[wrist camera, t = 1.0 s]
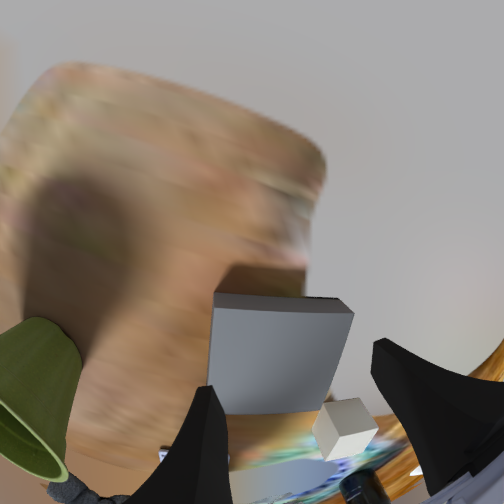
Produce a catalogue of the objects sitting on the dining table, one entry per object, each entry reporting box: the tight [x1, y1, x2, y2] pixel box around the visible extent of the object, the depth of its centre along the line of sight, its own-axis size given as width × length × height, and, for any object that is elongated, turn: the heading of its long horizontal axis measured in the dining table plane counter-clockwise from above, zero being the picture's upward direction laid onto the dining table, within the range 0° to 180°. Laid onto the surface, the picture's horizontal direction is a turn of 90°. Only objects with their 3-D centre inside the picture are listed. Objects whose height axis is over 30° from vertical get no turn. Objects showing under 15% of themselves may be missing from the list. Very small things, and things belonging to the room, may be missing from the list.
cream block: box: [311, 398, 379, 461], centre depth 23 cm, size 4×4×5 cm
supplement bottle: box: [339, 469, 391, 504], centre depth 26 cm, size 7×7×12 cm
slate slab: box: [206, 292, 354, 415], centre depth 20 cm, size 10×10×3 cm
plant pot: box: [0, 317, 82, 482], centre depth 13 cm, size 12×12×11 cm
